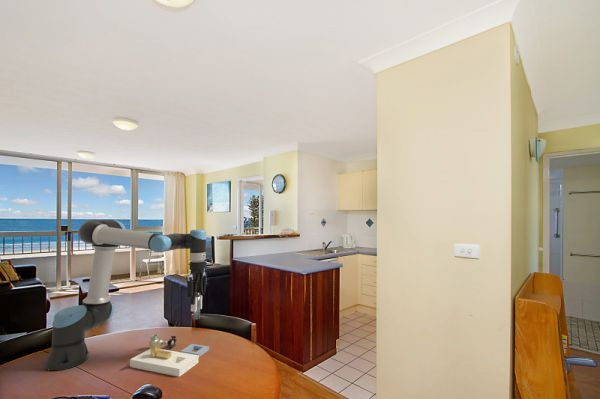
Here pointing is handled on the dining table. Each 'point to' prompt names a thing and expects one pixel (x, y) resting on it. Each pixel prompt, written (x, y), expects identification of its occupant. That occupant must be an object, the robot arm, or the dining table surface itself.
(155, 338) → the valve
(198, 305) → the drill peg
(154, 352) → the yellow l-shaped bracket
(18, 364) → the dining table surface
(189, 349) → the gray square-hole plate
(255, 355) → the dining table surface
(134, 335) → the dining table surface
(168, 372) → the socket board
